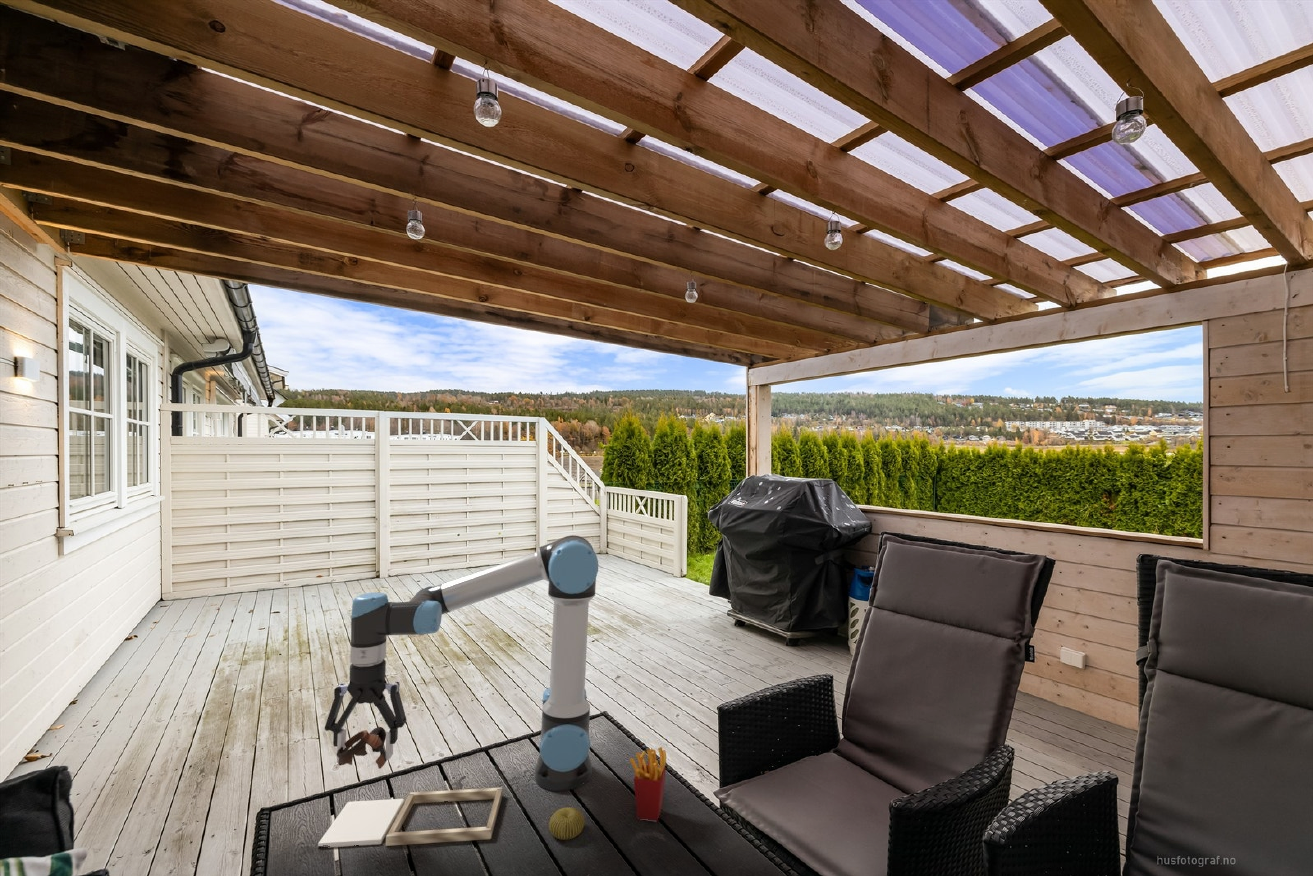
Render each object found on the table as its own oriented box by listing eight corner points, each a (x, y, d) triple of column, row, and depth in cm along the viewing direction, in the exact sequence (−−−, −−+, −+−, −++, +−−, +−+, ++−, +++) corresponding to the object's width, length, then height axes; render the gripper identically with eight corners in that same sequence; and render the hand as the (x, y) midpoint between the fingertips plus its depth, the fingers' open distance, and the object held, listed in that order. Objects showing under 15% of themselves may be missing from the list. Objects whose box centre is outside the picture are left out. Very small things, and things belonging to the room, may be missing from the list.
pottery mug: (377, 778, 125) (356, 749, 124) (343, 793, 126) (322, 764, 125) (404, 738, 137) (386, 711, 135) (373, 752, 138) (354, 725, 137)
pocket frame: (502, 795, 142) (502, 787, 142) (490, 839, 126) (491, 829, 126) (409, 800, 139) (410, 792, 140) (385, 845, 123) (386, 836, 123)
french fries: (660, 826, 131) (661, 760, 131) (626, 820, 132) (626, 755, 133) (668, 803, 139) (668, 741, 140) (635, 799, 141) (636, 737, 142)
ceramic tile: (403, 802, 139) (403, 798, 139) (380, 844, 124) (380, 839, 124) (347, 806, 137) (348, 801, 137) (317, 848, 122) (318, 843, 122)
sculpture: (583, 801, 133) (585, 823, 125) (583, 819, 133) (585, 841, 125) (548, 805, 132) (549, 827, 124) (548, 823, 132) (548, 846, 124)
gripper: (309, 668, 127) (305, 769, 126) (413, 665, 129) (410, 764, 129) (324, 657, 134) (321, 752, 133) (422, 654, 137) (420, 748, 136)
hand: (365, 758), depth 131 cm, fingers closed on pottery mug, 10 cm apart
